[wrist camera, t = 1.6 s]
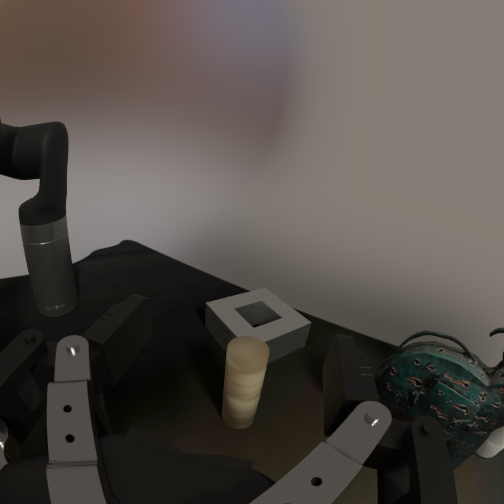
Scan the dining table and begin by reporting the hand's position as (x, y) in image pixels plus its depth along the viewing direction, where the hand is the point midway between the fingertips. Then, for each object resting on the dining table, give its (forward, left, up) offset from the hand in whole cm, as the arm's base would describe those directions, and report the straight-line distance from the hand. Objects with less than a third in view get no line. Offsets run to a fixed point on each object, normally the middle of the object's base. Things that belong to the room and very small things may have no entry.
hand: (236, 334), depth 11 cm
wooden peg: (-8, +7, -22) cm, 25 cm away
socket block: (-20, +18, -22) cm, 35 cm away
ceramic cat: (+10, +21, -23) cm, 33 cm away
